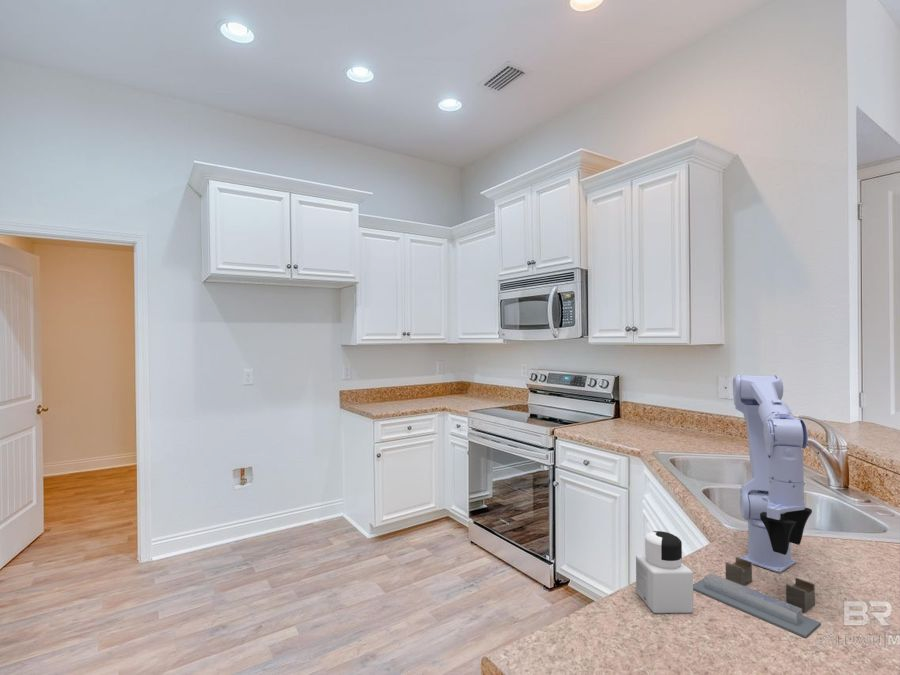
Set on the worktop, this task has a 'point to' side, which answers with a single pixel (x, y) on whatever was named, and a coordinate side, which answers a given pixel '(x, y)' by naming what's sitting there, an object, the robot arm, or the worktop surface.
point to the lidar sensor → (664, 575)
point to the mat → (761, 612)
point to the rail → (754, 599)
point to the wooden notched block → (739, 571)
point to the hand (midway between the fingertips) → (786, 547)
